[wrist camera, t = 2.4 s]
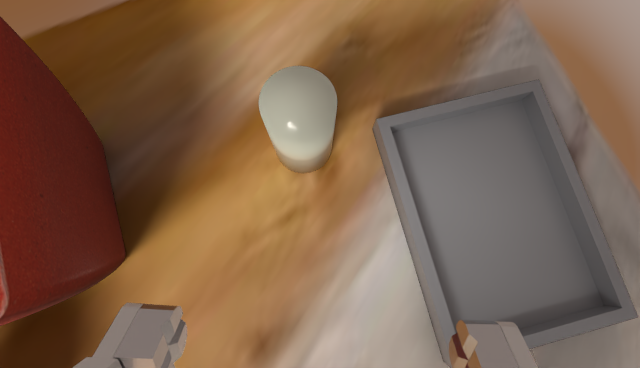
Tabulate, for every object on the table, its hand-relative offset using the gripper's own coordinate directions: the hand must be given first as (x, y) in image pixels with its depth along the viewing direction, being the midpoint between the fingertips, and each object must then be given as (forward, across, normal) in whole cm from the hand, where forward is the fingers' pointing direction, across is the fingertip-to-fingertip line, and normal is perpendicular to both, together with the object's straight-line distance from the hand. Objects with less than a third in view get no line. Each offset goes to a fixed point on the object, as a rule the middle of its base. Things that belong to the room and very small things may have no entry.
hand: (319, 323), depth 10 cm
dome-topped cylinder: (+24, +2, +7) cm, 25 cm away
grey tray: (+20, -16, +11) cm, 27 cm away
